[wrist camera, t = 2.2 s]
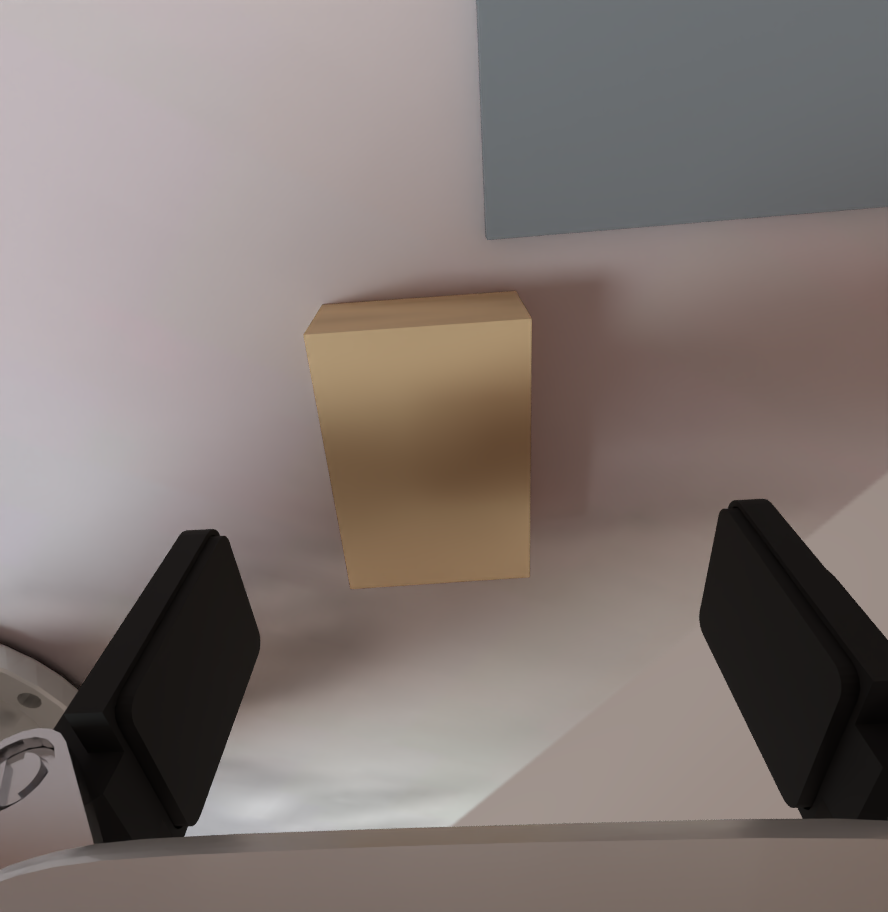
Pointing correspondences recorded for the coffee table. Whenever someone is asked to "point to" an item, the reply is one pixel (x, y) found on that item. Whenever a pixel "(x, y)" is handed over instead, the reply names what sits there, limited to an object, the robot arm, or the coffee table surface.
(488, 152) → the mat
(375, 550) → the light brown rectangular block
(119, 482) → the coffee table surface
